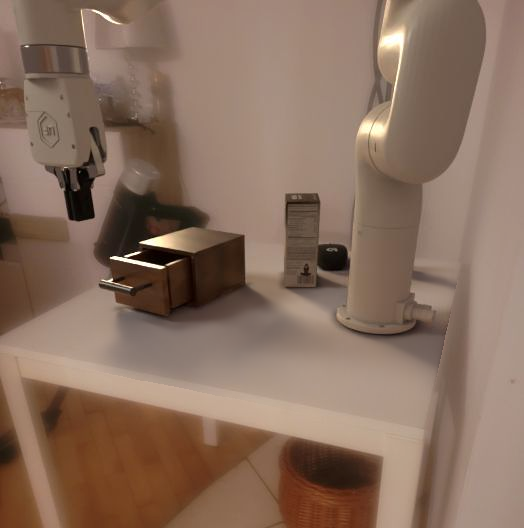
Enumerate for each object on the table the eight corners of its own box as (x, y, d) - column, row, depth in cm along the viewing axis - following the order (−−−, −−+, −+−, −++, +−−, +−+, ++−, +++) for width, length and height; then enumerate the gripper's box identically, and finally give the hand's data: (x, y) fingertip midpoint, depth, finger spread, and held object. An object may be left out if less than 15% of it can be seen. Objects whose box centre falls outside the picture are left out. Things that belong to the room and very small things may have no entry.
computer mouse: (314, 271, 102) (315, 252, 101) (311, 255, 113) (311, 238, 111) (350, 271, 102) (352, 252, 100) (343, 255, 113) (344, 238, 111)
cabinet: (197, 307, 84) (194, 252, 80) (144, 294, 90) (138, 242, 86) (245, 284, 95) (244, 234, 91) (195, 273, 101) (192, 226, 97)
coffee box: (283, 273, 101) (284, 192, 94) (314, 273, 101) (317, 192, 94) (283, 287, 93) (285, 200, 86) (317, 287, 93) (322, 200, 86)
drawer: (144, 326, 75) (138, 277, 71) (93, 311, 80) (86, 265, 77) (216, 291, 88) (214, 249, 85) (169, 281, 94) (165, 240, 91)
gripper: (-8, 67, 60) (24, 218, 68) (71, 61, 53) (97, 231, 61) (45, 70, 66) (69, 209, 74) (123, 65, 59) (141, 220, 67)
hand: (82, 219), depth 68 cm, fingers closed
